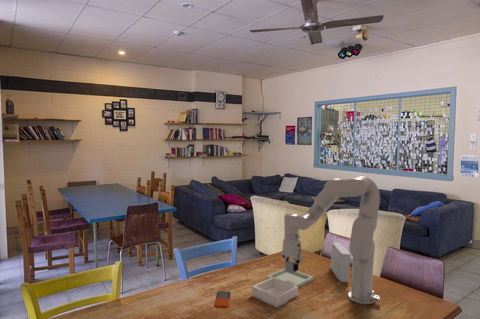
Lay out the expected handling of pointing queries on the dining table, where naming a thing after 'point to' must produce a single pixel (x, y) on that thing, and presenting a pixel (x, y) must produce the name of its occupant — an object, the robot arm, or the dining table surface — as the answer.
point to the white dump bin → (274, 292)
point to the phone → (222, 299)
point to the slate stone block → (289, 266)
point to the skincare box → (340, 262)
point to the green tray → (292, 277)
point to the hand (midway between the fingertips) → (291, 268)
